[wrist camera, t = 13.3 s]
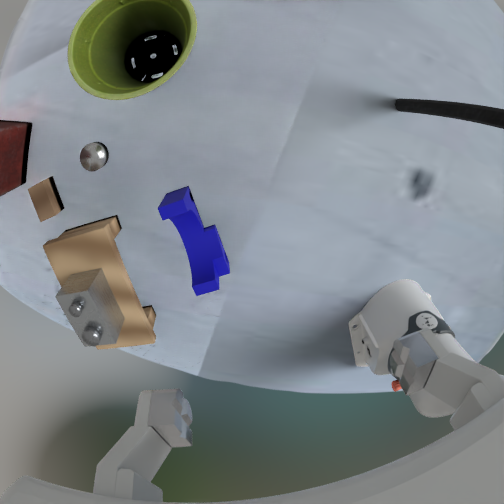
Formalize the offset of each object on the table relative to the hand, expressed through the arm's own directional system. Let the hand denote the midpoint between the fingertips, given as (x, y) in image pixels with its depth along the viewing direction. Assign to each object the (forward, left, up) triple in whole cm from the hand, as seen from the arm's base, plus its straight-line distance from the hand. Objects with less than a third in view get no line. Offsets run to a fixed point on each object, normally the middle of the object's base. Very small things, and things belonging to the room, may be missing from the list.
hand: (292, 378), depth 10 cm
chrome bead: (+8, +17, -29) cm, 35 cm away
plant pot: (+18, +7, -29) cm, 35 cm away
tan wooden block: (+5, +26, -29) cm, 39 cm away
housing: (-9, +21, -23) cm, 32 cm away
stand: (-9, +21, -29) cm, 37 cm away
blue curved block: (-5, +6, -30) cm, 31 cm away
